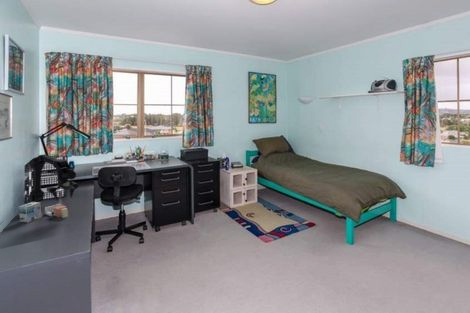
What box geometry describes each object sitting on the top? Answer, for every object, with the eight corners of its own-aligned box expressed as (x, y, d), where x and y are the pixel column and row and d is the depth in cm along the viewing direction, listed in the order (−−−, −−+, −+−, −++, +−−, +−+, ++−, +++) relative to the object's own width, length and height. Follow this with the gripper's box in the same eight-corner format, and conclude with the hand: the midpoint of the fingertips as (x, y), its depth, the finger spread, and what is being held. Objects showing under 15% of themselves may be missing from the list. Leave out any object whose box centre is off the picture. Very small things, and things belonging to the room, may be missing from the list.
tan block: (45, 213, 193) (44, 207, 192) (61, 209, 202) (60, 203, 201) (50, 216, 189) (49, 209, 188) (65, 211, 198) (65, 205, 197)
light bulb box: (28, 222, 178) (26, 207, 176) (19, 221, 179) (17, 206, 177) (42, 216, 188) (40, 202, 186) (34, 216, 189) (32, 201, 188)
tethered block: (54, 215, 190) (53, 207, 189) (63, 213, 195) (62, 205, 194) (61, 218, 184) (60, 210, 183) (70, 216, 189) (69, 208, 188)
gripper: (52, 182, 175) (54, 204, 177) (81, 177, 190) (83, 198, 193) (45, 179, 181) (47, 201, 184) (74, 174, 196) (75, 195, 199)
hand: (64, 198), depth 190 cm, fingers open, 9 cm apart
